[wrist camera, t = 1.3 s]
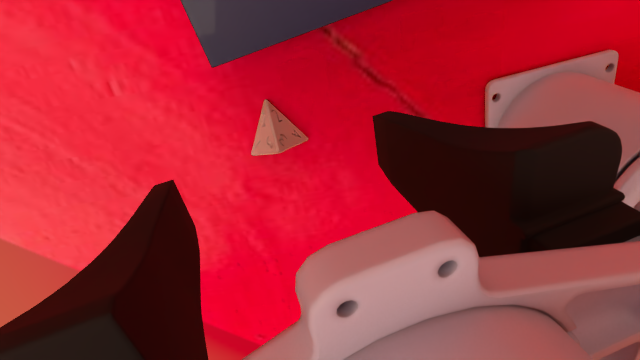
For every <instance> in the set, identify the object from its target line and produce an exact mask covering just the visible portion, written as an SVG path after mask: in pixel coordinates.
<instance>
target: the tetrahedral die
mask: <svg viewBox="0 0 640 360" xmlns="http://www.w3.org/2000/svg"><path fill="white" fill-rule="evenodd" d="M305 141H308V137H307V136H305V135H304V134H303V133H302V132H301V131H300V130H299V129H298V128H297V127H296V126H295V125H294V124H292V123H291V122H290V121H289V120H288V119H287V118H286V117H285V116H284V115H283V114H282V113H281V112H279V111H278V110H277V109H276V108H275V107H274V106H273V105H272V104H271V103H270V102H269V101H268V100H264V103H263V107H262V111H261V115H260V119H259V124H258V128H257V132H256V136H255V140H254V144H253V148H252V152H251V155H253V156H255V155H268V154H279V153H281V152H284V151H286V150H288V149H290V148H292V147H294V146H297V145H299V144H301V143H303V142H305Z"/></svg>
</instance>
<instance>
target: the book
mask: <svg viewBox="0 0 640 360" xmlns="http://www.w3.org/2000/svg"><path fill="white" fill-rule="evenodd" d="M390 1H393V0H181V2H182V5H183V7H184V9H185V11H186V13H187V15H188V17H189V20H190V22H191V24H192V26H193V28H194V30H195V32H196V35H197V37H198V39H199V41H200V43H201V45H202V47H203V50H204V52H205V54H206V56H207V58H208V60H209V62H210V65H211V67H212V68H213V67H216V66H219V65H221V64H224V63H227V62H229V61H232V60H235V59H237V58H240V57H243V56H245V55H248V54H251V53H253V52H256V51H259V50H261V49H264V48H267V47H269V46H272V45H275V44H277V43H280V42H283V41H285V40H288V39H291V38H294V37H296V36H299V35H302V34H304V33H307V32H310V31H312V30H315V29H318V28H320V27H323V26H326V25H328V24H331V23H334V22H336V21H339V20H342V19H344V18H347V17H350V16H352V15H355V14H358V13H360V12H363V11H366V10H368V9H371V8H374V7H376V6H379V5H382V4H384V3H387V2H390Z"/></svg>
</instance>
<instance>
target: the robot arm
mask: <svg viewBox="0 0 640 360" xmlns="http://www.w3.org/2000/svg"><path fill="white" fill-rule="evenodd" d="M617 63H618V53H617V52H616V51H614V50H605V51H602V52H598V53H594V54H590V55H586V56H582V57H579V58H575V59H571V60H567V61H563V62H559V63H556V64H552V65H548V66H544V67H540V68H536V69H533V70H529V71H525V72H521V73H517V74H513V75H509V76H506V77H502V78H498V79H494V80H492V81H490V82H489V83H488V84H487V85H486V88H485V127H475V126H465V125H458V124H452V123H446V122H440V121H435V120H430V119H426V118H421V117H417V116H413V115H408V114H404V113H399V112H392V111H387V112H384V113H381V114H378V115H375V116H373V123H374V131H375V139H376V147H377V155H378V163H379V166H380V167H381V169H382V170H383V172H384V173H385V175H386V176H387V178H388V179H389V181H390V182H391V183H392V185H393V186H394V187H395V188H396V189H397V190H398V191H399V192H400V193H401V194H402V196H403V197H404V198H405V199H406V200H407V201H408V202H409V203H410V204H411V205H412V206H413V207H414V208H415V209H416V210H417V212H418V213H413V214H410V215H407V216H405V217H402V218H399V219H397V220H394V221H391V222H388V223H386V224H383V225H380V226H378V227H375V228H372V229H369V230H367V231H364V232H361V233H358V234H356V235H353V236H350V237H348V238H345V239H342V240H339V241H337V242H334V243H331V244H328V245H326V246H325V247H323V248H321V249H320V250H318V251H317V252H315V253H313V254H312V255H310V256H308V257H307V259H306V260H305V262H304V263H303V264H302V266H301V267H300V269H299V270H298V272H297V273H296V286H295V291H296V294H297V297H298V300H299V303H300V306H301V317H300V319H299V320H298V321H297V322H295V323H294V324H292V325H291V326H289V327H288V328H287V329H285V330H284V331H282V332H281V333H279V334H278V335H277V336H275V337H274V338H272V339H271V340H269V341H268V342H266V343H265V344H264V345H262V346H261V347H259V348H258V349H257V350H255V351H253V352H252V353H251V354H249V355H248V356H246V357H245V358H243V359H242V360H640V93H639V92H636V91H633V90H630V89H627V88H624V87H621V86H618V85H615V84H614V81H615V75H616V69H617ZM608 65H609V66H608ZM607 66H608V68H607V69H606V67H607ZM605 69H606V70H605ZM496 93H497V97H496V98H495V99H494V100H492V97H493V96H494V94H496ZM0 360H208V355H207V349H206V343H205V337H204V329H203V322H202V314H201V292H200V250H199V244H198V238H197V233H196V228H195V225H194V223H193V221H192V219H191V217H190V214H189V212H188V210H187V208H186V206H185V204H184V202H183V200H182V198H181V195H180V193H179V191H178V189H177V187H176V185H175V183H174V181H173V180H171V181H167V182H164V183H161V184H158V185H155V186H154V187H153V188H152V189H151V191H150V192H149V193H148V195H147V196H146V198H145V199H144V201H143V202H142V203H141V205H140V206H139V208H138V209H137V210H136V212H135V213H134V215H133V216H132V217H131V219H130V220H129V221H128V223H127V224H126V225H125V226H124V227H123V229H122V230H121V231H120V232H119V234H118V235H117V236H116V237H115V239H114V240H113V241H112V242H111V243H110V244H109V245H108V246H107V247H106V248H105V249H104V250H103V251H102V252H101V253H100V254H99V255H98V256H97V257H96V258H95V259H94V260H93V261H92V262H91V263H90V264H89V265H88V266H87V267H85V268H84V269H83V270H82V271H81V272H79V273H78V274H77V275H76V276H75V277H74V278H72V279H71V280H70V281H69V282H68V283H67V284H65V285H64V286H62V287H61V288H60V289H58V290H57V291H56V292H54V293H53V294H52V295H50V296H49V297H47V298H46V299H44V300H43V301H42V302H40V303H39V304H37V305H36V306H34V307H33V308H31V309H30V310H28V311H26V312H25V313H23V314H22V315H20V316H18V317H17V318H15V319H13V320H12V321H10V322H9V323H7V324H5V325H4V326H2V327H1V328H0Z"/></svg>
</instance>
